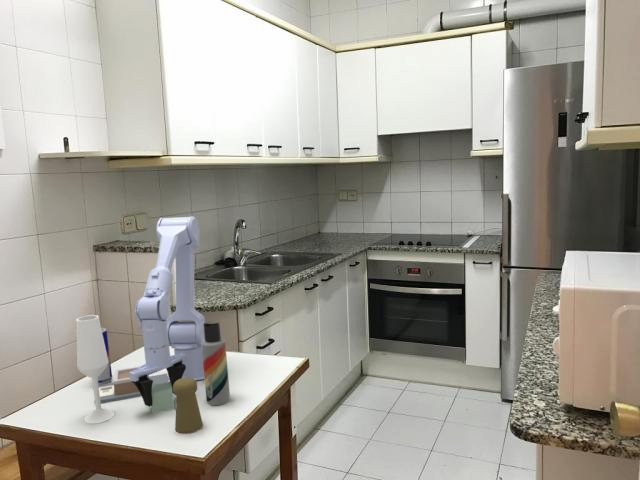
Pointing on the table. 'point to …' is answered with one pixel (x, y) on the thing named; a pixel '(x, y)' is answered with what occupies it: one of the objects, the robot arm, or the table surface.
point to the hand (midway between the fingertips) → (162, 399)
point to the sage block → (162, 397)
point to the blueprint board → (137, 394)
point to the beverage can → (107, 373)
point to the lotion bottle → (215, 365)
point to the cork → (186, 406)
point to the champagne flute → (92, 360)
